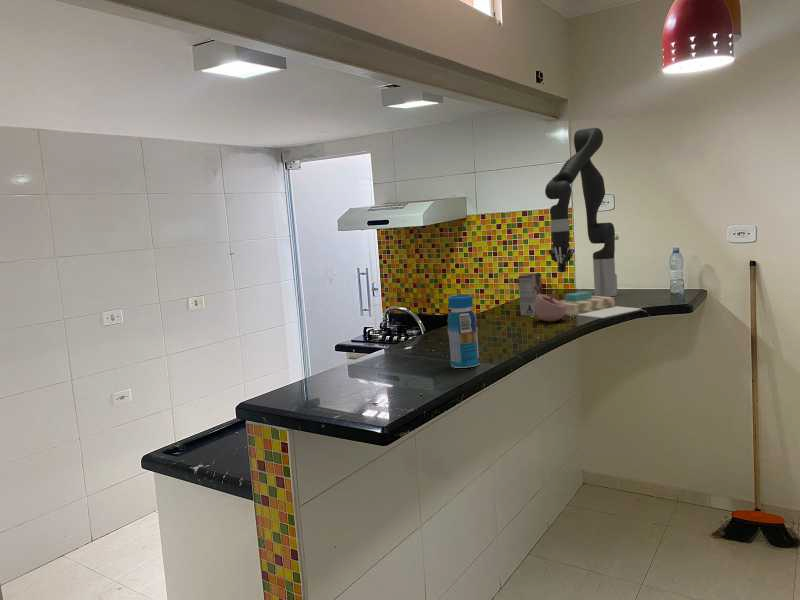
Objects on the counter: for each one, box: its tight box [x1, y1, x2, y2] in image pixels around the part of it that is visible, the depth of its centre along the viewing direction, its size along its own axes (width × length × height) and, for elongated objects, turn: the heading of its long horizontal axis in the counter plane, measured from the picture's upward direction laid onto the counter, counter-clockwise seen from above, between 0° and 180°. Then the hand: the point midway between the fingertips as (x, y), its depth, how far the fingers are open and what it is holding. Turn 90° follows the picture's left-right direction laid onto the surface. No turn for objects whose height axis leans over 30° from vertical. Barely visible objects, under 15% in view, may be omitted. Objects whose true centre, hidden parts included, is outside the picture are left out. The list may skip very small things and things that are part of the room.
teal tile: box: [563, 291, 592, 302], centre depth 249 cm, size 9×6×2 cm, turn 120°
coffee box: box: [517, 272, 543, 317], centre depth 248 cm, size 9×6×16 cm
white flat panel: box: [577, 305, 642, 319], centre depth 236 cm, size 22×12×1 cm, turn 120°
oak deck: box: [559, 295, 616, 316], centre depth 248 cm, size 22×14×4 cm, turn 120°
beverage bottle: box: [446, 294, 481, 369], centre depth 171 cm, size 8×8×20 cm
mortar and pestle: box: [534, 290, 567, 323], centre depth 228 cm, size 12×12×11 cm
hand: (562, 272), depth 255 cm, fingers closed
